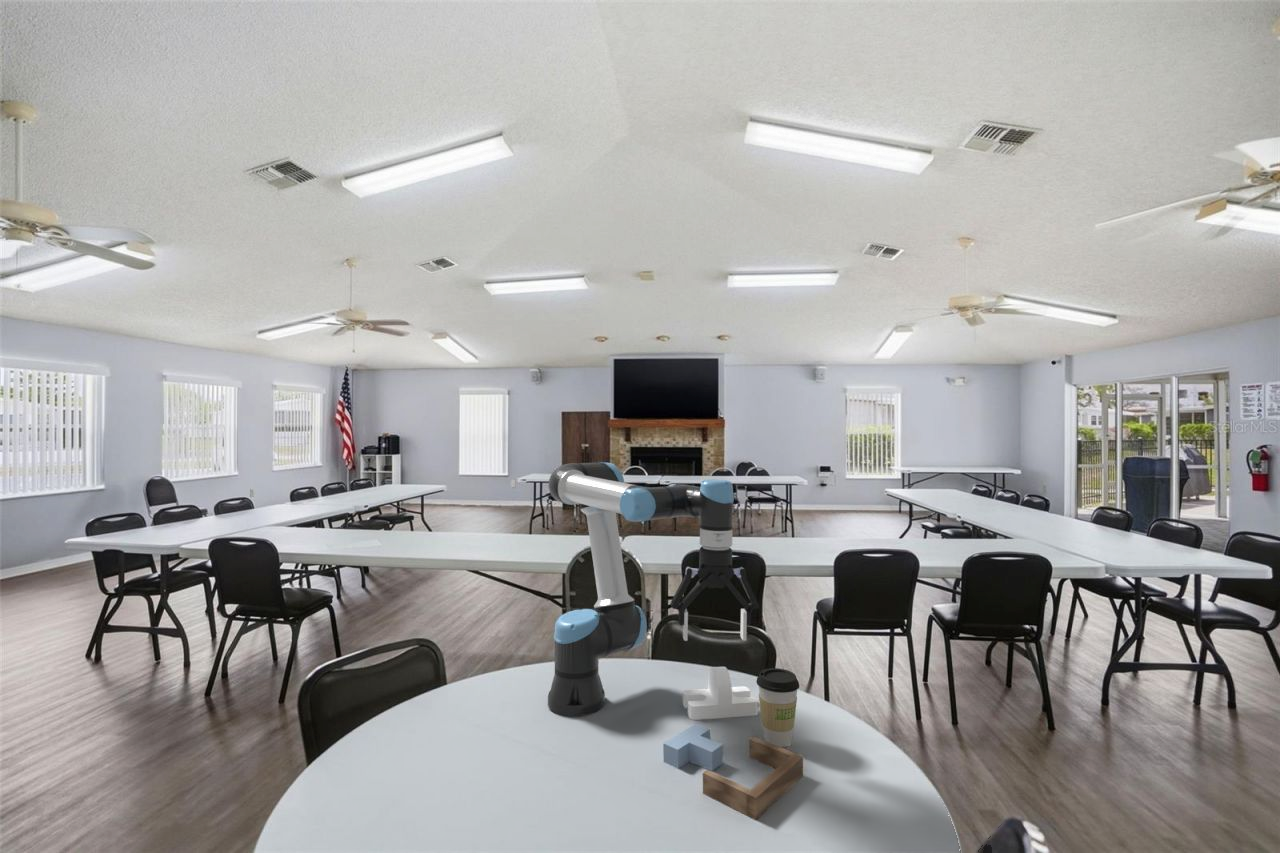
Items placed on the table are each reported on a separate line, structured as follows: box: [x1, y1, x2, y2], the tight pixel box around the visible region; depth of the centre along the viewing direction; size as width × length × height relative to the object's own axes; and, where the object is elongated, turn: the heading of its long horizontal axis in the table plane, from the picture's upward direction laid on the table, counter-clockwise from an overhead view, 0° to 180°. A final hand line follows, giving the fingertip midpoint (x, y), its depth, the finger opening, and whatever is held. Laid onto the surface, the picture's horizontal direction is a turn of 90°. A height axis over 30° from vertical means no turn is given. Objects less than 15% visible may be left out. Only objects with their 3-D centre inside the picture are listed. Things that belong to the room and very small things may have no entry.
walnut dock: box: [702, 736, 804, 821], centre depth 118 cm, size 12×19×4 cm, turn 138°
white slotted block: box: [682, 666, 759, 721], centre depth 151 cm, size 10×18×11 cm, turn 99°
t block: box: [662, 723, 724, 772], centre depth 127 cm, size 10×12×4 cm
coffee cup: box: [755, 667, 800, 748], centre depth 135 cm, size 10×10×15 cm
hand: (714, 638), depth 134 cm, fingers open, 13 cm apart
